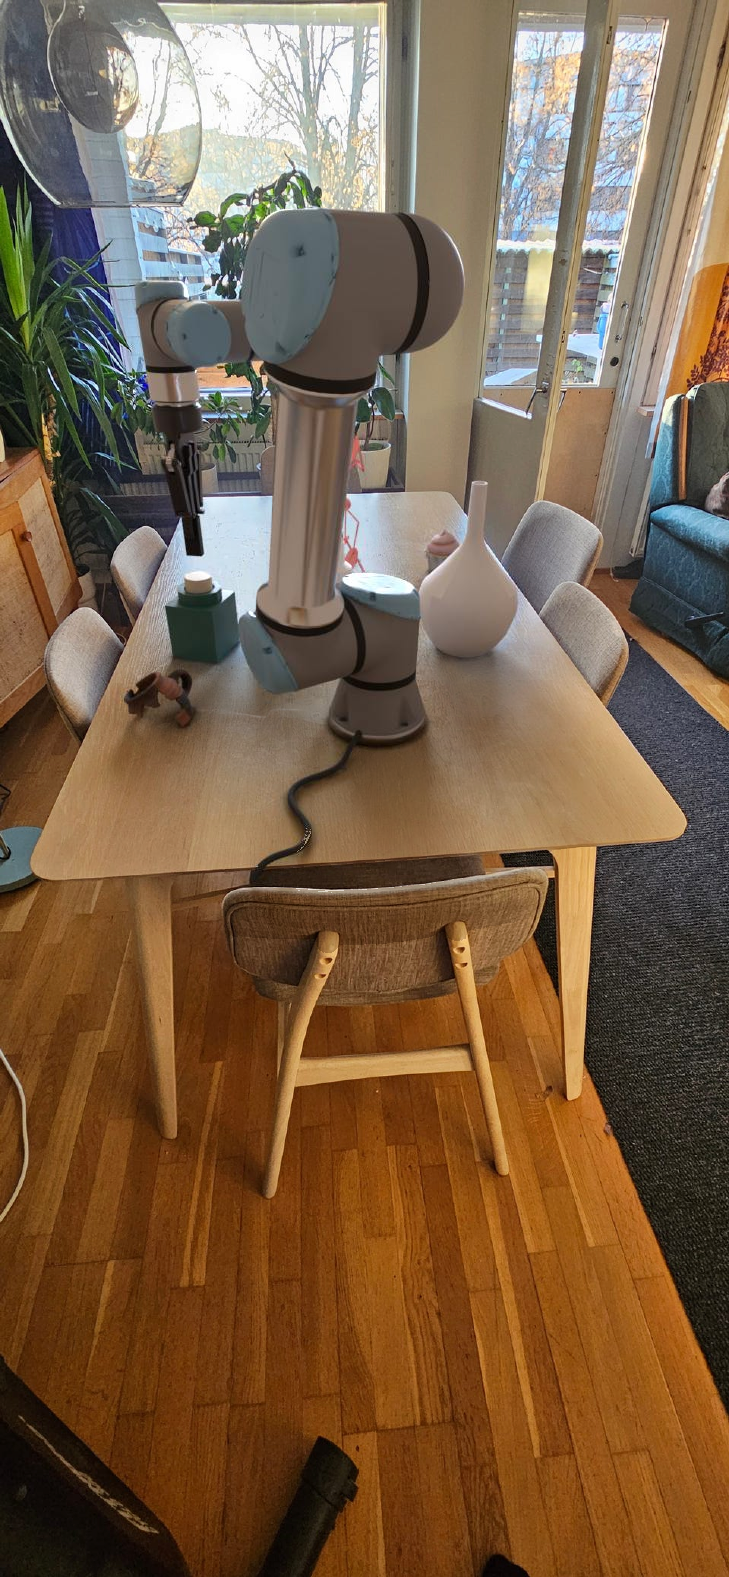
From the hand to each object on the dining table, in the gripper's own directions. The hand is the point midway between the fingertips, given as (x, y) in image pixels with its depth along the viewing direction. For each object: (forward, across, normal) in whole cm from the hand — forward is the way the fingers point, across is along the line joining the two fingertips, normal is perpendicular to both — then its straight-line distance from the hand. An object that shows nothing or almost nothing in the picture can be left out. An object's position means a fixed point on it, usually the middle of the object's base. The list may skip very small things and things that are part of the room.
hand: (195, 554), depth 125 cm
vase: (+18, -9, +48) cm, 52 cm away
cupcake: (+18, -49, +42) cm, 67 cm away
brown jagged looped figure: (+18, +24, +1) cm, 30 cm away
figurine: (+18, -47, +16) cm, 53 cm away
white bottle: (+18, -17, +22) cm, 33 cm away
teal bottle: (+18, 0, 0) cm, 18 cm away
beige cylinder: (+6, 0, 0) cm, 6 cm away
